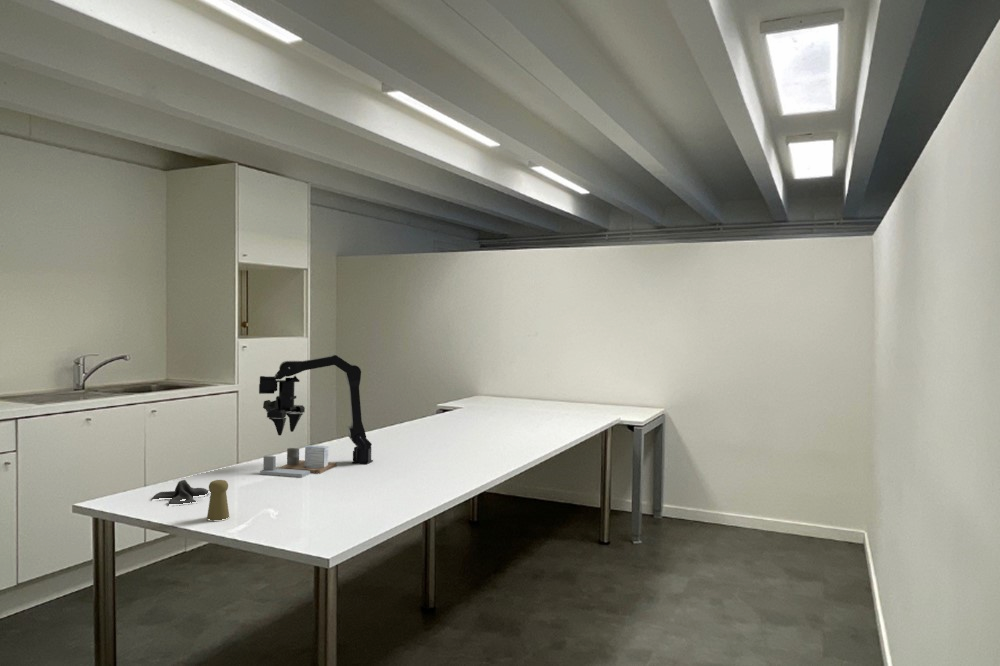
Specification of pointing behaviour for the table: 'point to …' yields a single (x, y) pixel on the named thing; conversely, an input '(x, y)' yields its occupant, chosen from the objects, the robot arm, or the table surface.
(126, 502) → the table surface
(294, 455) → the brown wooden frame
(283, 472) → the grey strip
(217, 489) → the cork
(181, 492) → the cloth
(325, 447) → the medicine box
